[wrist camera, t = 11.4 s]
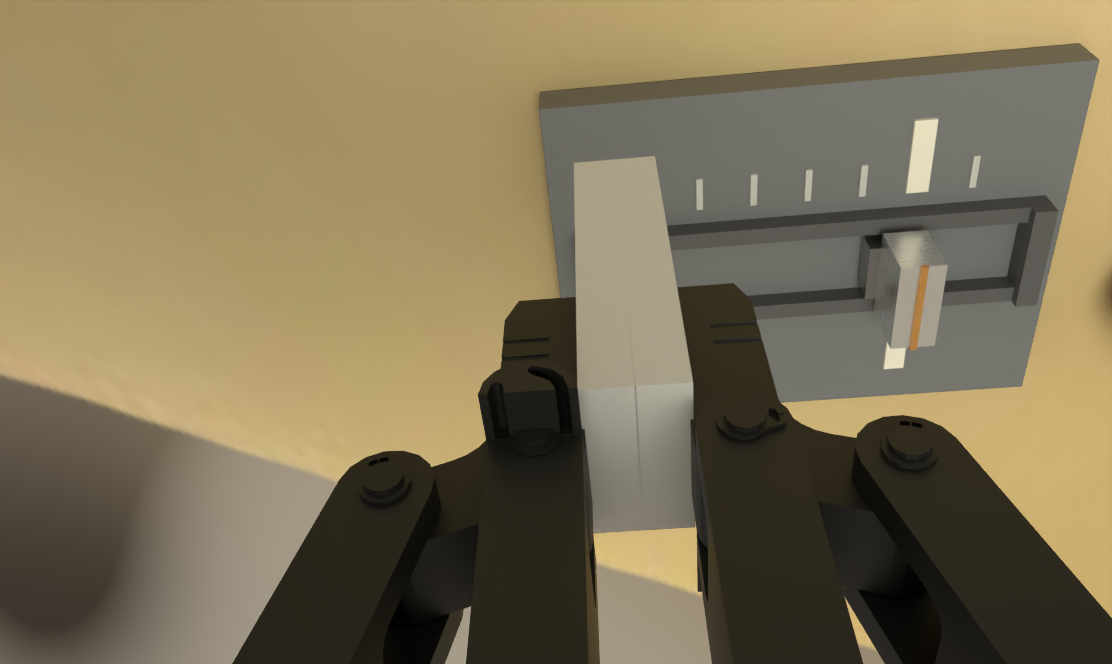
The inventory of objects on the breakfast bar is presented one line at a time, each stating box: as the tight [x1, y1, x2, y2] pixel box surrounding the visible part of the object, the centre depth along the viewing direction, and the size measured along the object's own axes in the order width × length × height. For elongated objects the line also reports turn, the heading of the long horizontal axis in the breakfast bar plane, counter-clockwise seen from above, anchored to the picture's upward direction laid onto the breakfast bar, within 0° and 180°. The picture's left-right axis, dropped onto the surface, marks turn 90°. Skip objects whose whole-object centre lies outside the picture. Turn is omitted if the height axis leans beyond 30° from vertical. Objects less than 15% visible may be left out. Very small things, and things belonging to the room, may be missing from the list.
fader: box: [857, 230, 948, 350], centre depth 45 cm, size 3×4×5 cm, turn 6°
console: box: [539, 44, 1099, 403], centre depth 47 cm, size 24×18×4 cm
